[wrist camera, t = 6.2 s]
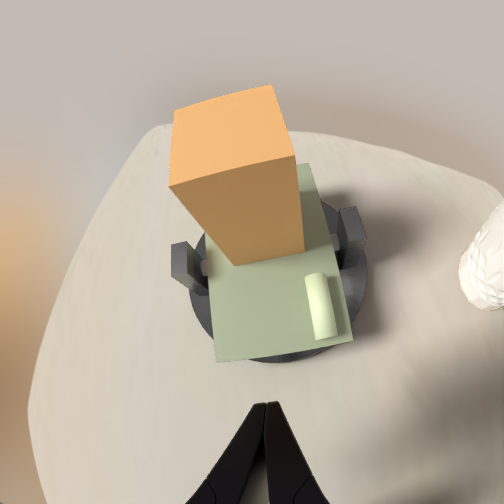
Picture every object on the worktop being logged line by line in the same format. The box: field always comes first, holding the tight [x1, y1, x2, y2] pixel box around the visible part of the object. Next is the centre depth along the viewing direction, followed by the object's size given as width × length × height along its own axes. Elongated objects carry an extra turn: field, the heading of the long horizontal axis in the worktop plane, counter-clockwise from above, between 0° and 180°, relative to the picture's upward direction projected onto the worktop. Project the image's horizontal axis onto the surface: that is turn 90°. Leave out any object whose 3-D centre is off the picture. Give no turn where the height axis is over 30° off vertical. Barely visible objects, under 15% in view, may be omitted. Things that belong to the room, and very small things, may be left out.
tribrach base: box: [171, 201, 367, 363], centre depth 21 cm, size 15×15×6 cm
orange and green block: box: [168, 85, 353, 362], centre depth 15 cm, size 14×10×11 cm
